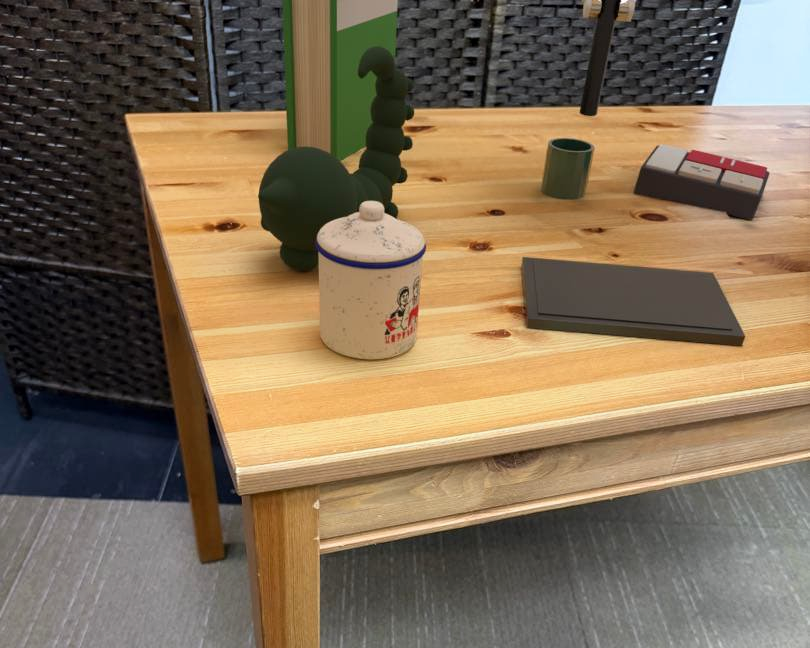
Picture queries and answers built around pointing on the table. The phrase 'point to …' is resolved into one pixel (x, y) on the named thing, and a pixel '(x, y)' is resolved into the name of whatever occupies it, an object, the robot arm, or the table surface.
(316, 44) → the hardback book
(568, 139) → the pen cup
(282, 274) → the table surface
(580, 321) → the tablet
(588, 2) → the robot arm
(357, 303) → the teacup with lid
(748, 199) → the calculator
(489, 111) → the table surface
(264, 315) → the table surface
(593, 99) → the stylus
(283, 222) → the toy figurine
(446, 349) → the table surface
